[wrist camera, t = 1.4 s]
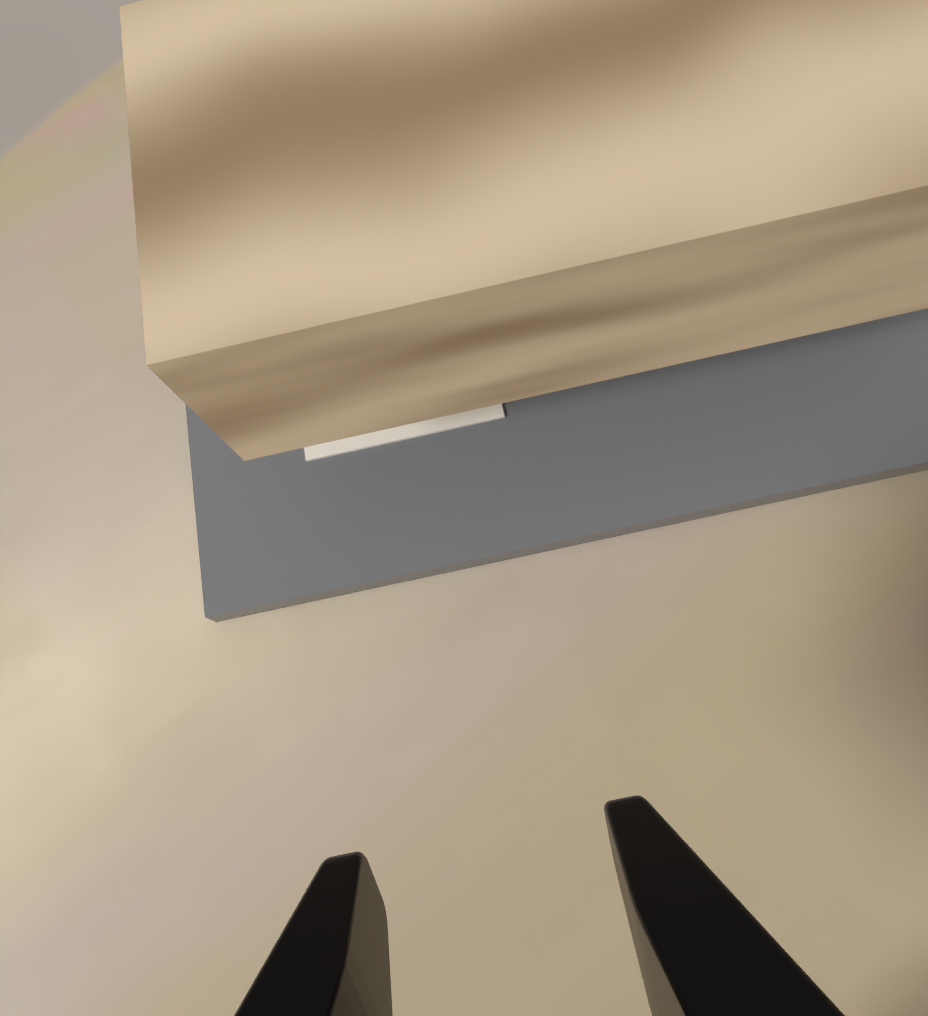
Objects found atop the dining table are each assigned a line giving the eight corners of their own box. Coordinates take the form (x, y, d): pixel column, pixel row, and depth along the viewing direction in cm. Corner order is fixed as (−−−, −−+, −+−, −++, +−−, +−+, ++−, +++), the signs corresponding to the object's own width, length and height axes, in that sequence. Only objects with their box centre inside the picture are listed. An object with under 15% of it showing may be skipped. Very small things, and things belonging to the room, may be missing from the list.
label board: (1116, 428, 23) (1140, 414, 22) (216, 622, 24) (202, 616, 23) (931, 49, 27) (944, 24, 26) (178, 227, 28) (166, 209, 28)
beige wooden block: (1007, 354, 23) (1328, 57, 13) (295, 511, 24) (119, 338, 14) (893, 104, 26) (1090, -289, 16) (261, 253, 27) (95, -36, 17)
